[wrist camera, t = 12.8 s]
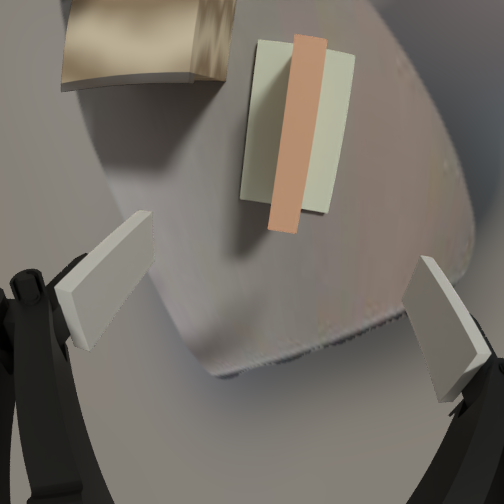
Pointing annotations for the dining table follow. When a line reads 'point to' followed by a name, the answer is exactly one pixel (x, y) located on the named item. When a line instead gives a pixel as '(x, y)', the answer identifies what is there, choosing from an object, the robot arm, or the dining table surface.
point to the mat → (271, 121)
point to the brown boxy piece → (146, 42)
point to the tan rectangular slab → (297, 132)
